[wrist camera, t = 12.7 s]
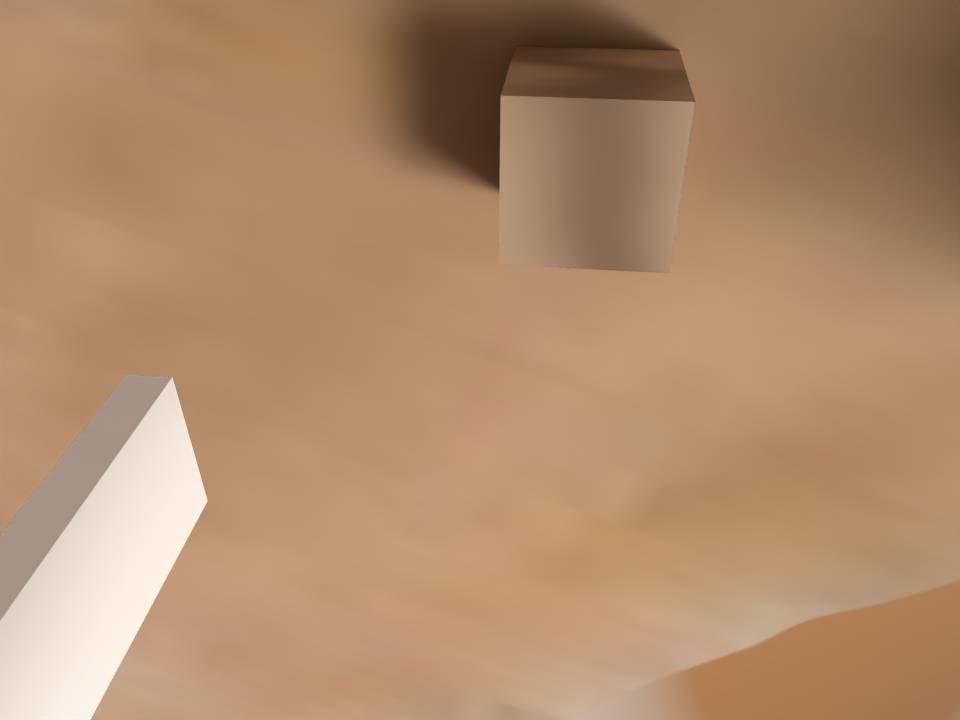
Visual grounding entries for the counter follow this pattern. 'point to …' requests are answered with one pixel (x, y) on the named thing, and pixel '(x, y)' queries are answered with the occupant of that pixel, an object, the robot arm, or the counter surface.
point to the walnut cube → (592, 157)
